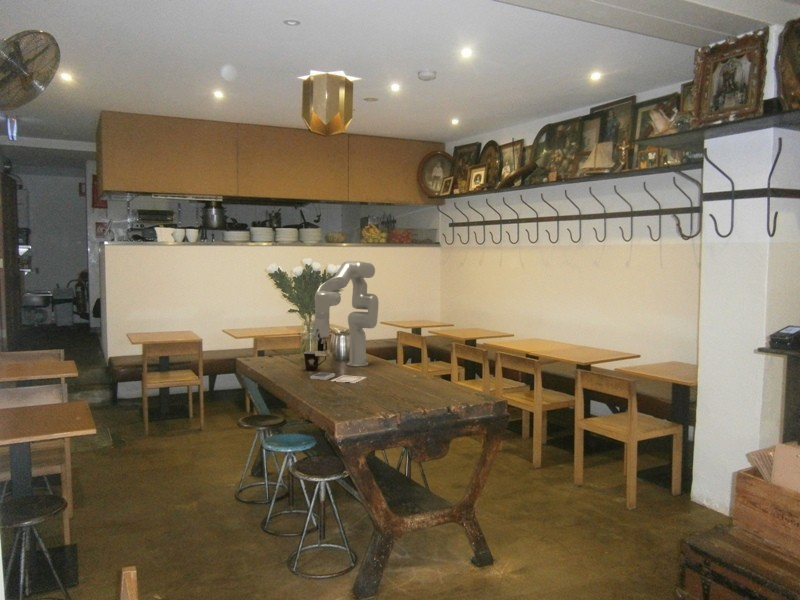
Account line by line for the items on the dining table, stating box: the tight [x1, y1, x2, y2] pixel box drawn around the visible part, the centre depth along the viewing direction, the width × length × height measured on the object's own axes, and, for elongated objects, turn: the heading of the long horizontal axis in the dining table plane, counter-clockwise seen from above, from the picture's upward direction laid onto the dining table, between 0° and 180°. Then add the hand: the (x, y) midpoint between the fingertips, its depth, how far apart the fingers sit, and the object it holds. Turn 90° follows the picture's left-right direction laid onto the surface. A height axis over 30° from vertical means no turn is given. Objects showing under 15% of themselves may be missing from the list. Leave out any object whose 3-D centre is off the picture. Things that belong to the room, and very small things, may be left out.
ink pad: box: [309, 372, 336, 381], centre depth 330 cm, size 11×9×2 cm
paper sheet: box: [330, 374, 368, 384], centre depth 326 cm, size 15×14×1 cm
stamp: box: [314, 336, 331, 358], centre depth 329 cm, size 6×5×12 cm
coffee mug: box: [303, 350, 327, 372], centre depth 350 cm, size 12×9×10 cm
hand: (322, 350), depth 329 cm, fingers closed on stamp, 3 cm apart
